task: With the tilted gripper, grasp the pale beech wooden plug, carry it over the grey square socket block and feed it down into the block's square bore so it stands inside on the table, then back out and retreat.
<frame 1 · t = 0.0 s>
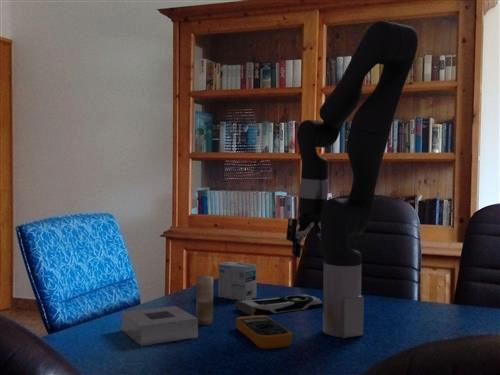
hand: (309, 256, 147), 17 cm above the table, tool pointing down, fingers open, 8 cm apart
grey square socket block: (159, 333, 133), on the table
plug: (204, 322, 143), on the table
graphics card: (280, 311, 159), on the table
light bulb box: (237, 298, 174), on the table
multimeter: (263, 339, 132), on the table
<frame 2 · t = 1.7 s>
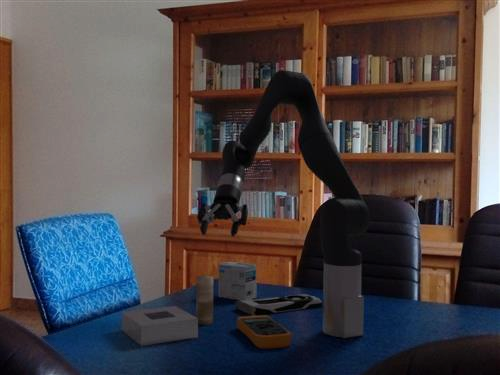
hand: (217, 233, 154), 22 cm above the table, tool tilted 45°, fingers open, 8 cm apart
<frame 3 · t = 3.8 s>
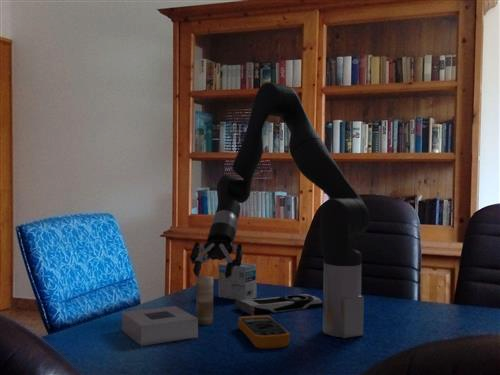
hand: (211, 275, 149), 11 cm above the table, tool tilted 45°, fingers open, 8 cm apart
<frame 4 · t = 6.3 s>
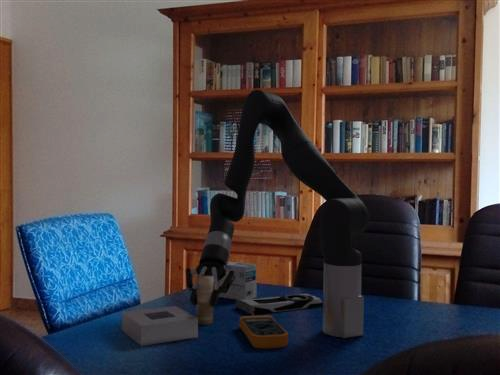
hand: (202, 304, 141), 5 cm above the table, tool tilted 45°, fingers closed on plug, 4 cm apart
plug: (204, 322, 143), on the table, touching gripper
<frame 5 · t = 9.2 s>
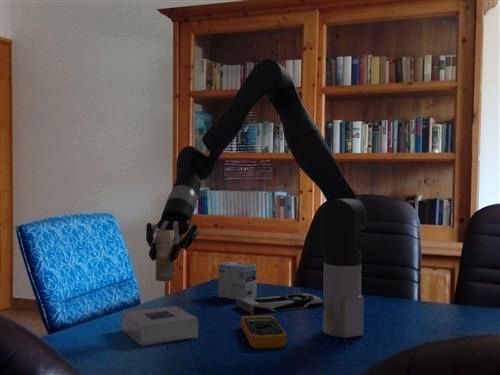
hand: (161, 259, 132), 18 cm above the table, tool tilted 45°, fingers closed on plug, 4 cm apart
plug: (164, 279, 134), point 13 cm above the table, touching gripper
when the fingers open (8 cm above the table, at t = 12.2 s): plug drops 3 cm, resting in grey square socket block.
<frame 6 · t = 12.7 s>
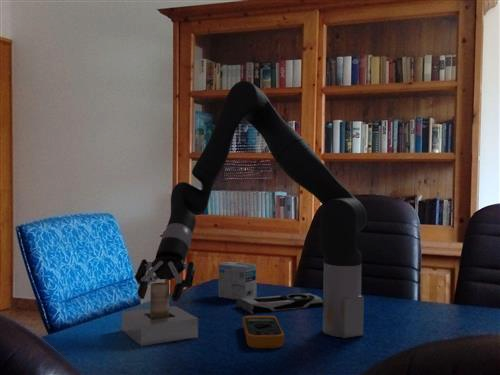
hand: (157, 298, 131), 9 cm above the table, tool tilted 45°, fingers open, 8 cm apart
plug: (159, 333, 133), resting in grey square socket block
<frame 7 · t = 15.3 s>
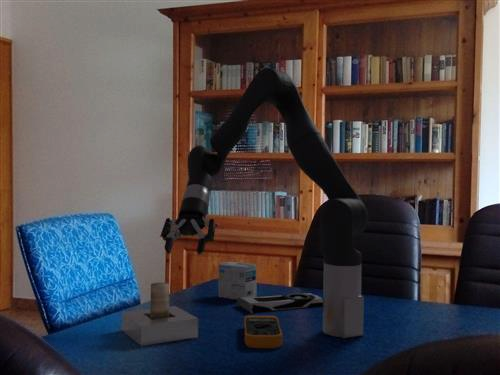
hand: (183, 252, 145), 18 cm above the table, tool tilted 40°, fingers open, 8 cm apart
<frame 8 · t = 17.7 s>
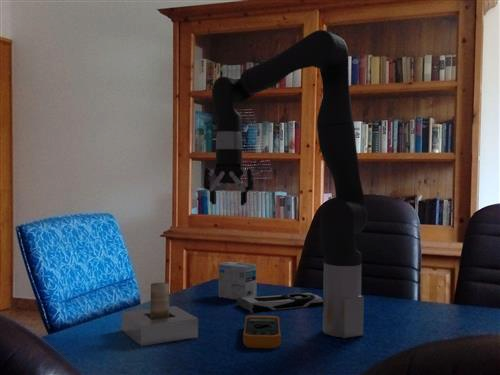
hand: (228, 204, 158), 30 cm above the table, tool pointing down, fingers open, 8 cm apart
at the end: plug 0.1 cm off-centre on the grey square socket block, point 0.0 cm above the grey square socket block's base; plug tilted 0°; the gripper is holding nothing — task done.
